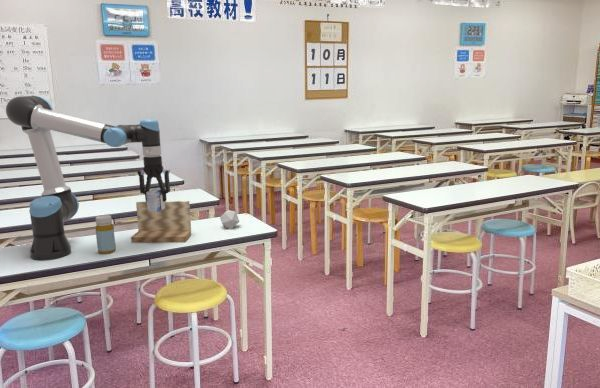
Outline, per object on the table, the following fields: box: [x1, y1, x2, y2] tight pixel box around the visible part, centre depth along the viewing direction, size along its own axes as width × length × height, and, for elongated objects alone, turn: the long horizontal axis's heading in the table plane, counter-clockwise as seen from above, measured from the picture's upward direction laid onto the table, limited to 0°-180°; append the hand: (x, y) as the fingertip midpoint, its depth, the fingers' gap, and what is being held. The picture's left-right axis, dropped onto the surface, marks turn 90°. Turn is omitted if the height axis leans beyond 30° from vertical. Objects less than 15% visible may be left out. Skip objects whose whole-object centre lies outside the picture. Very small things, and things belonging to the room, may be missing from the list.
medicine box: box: [146, 188, 162, 212], centre depth 221 cm, size 8×4×9 cm, turn 168°
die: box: [219, 209, 240, 230], centre depth 246 cm, size 8×9×10 cm
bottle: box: [95, 214, 117, 255], centre depth 211 cm, size 7×7×15 cm
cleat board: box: [130, 200, 192, 244], centre depth 228 cm, size 24×12×16 cm, turn 89°
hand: (156, 208), depth 222 cm, fingers closed on medicine box, 5 cm apart
